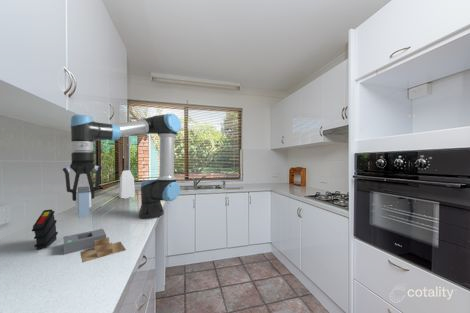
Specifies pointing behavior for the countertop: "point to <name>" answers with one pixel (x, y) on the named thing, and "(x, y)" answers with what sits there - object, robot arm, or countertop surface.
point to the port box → (82, 241)
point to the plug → (83, 201)
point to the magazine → (45, 229)
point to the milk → (126, 185)
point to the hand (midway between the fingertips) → (83, 207)
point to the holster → (101, 249)
